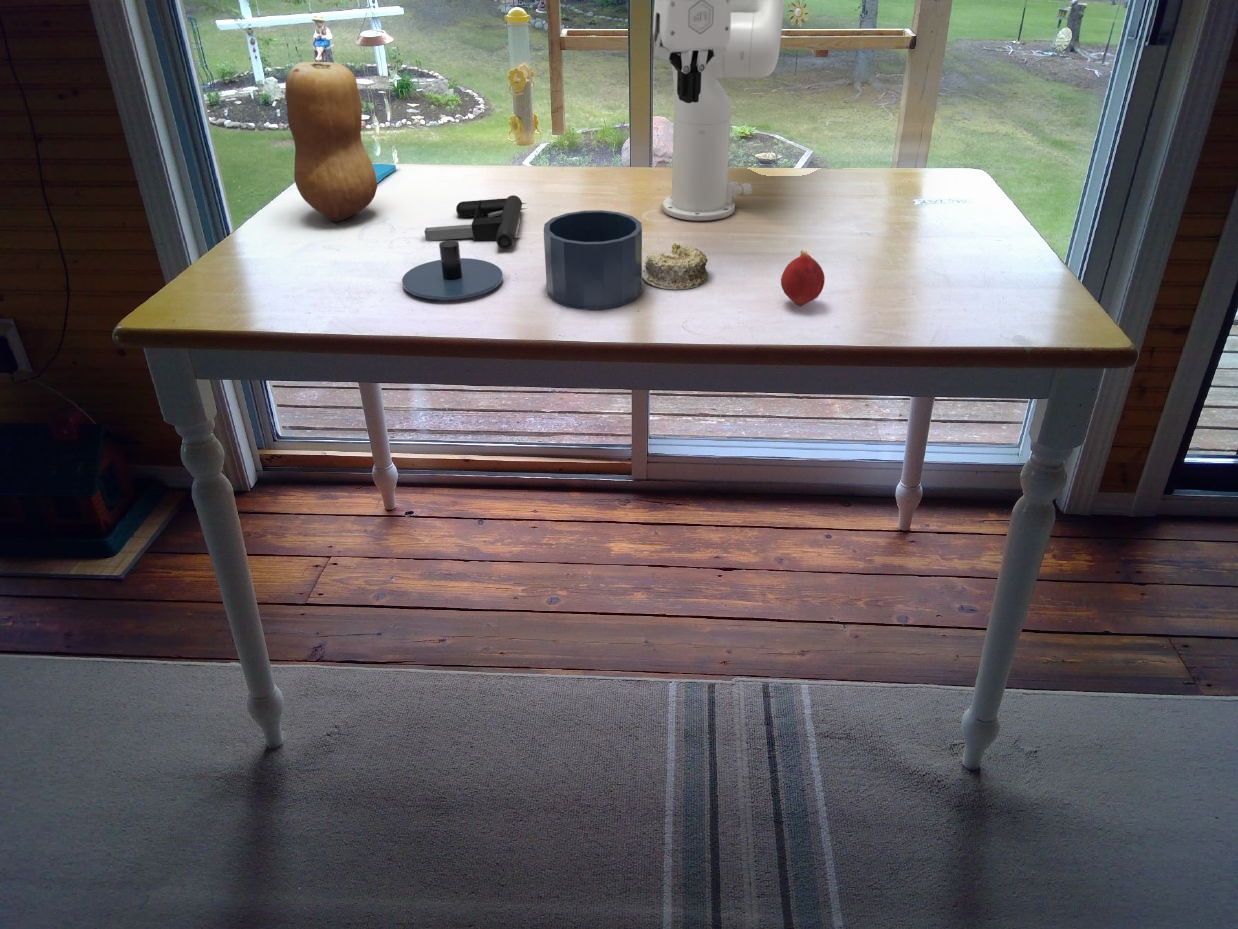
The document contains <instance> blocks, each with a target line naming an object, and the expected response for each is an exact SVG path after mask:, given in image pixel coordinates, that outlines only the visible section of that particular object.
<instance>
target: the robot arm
mask: <svg viewBox="0 0 1238 929" xmlns="http://www.w3.org/2000/svg"><path fill="white" fill-rule="evenodd" d="M784 9H785V0H654V7H653V19H652V20H653V23H652V36H653V37H652V38H653V44H654V50H653V57H654V58H655V59H657V60H661V61H664V62H669V63H670V64H671V69H672V79H673V120H672V122H673V123H672V127H673V129H672V131H673V132H672V164H671V165H672V167H671V168H672V169H671V195H670V196H668V197H667V198H665V199H664V200H663V201H662V211H663V212H664V213H665V214H666V215H667V216H670V217H673V218H676V219H679V220H683V221H694V222H705V221H707V222H708V221H716V220H720V219H724V218H727V217H729V216H731V215H732V214H734V212H735V210H736V209H735V208H736V204H735V201H734V200H733V199H735V198H736V197H737V196H747V195H751V194H752V191H753V188H752V185H751V183H750V182H746V183H741V184H740V183H739V184H738V182H737V181H731V182H729V181H728V176H729V175H728V174H729V173H728V172H729V158H730V157H729V156H730V137H731V120H732V105H731V101H730V99H729V98H730V97H729V96H728V94H727V92H726V91H725V89H724V88H723V86H722V85H721V84H720V82H719V81H718V79H724V78H734V79H735V78H736V79H761V78H766V77H769V76H770V75H771V74H772V73H773V72H774V71H775V69H776V67H777V64H778V62H779V56H780V52H781V51H780V50H781V43H782V42H781V41H782V32H783V31H782V30H783V20H784V11H785V10H784Z"/></svg>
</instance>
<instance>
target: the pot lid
mask: <svg viewBox="0 0 1238 929" xmlns="http://www.w3.org/2000/svg"><path fill="white" fill-rule="evenodd" d="M438 247H439V256H440V259H437V260H432V261H429V262H428V261H427V262H424V263H421V264H419V265H416V266H414V267H413V268H411V269H410V270H408V271H406V272H405V273H404V275H403V276H402V279H401V282H402V287H403V289H404V290H405V291H406V292H408V293H409V294H410V295H413V296H415V297H419V298H422V299H429V300H438V301H439V300H440V301H449V300H450V301H451V300H462V299H467V298H473V297H477V296H480V295H483V294H486V293H489V292H490V291H492V290H494V289H496V288H497V287H498V286H499V285H500V284H501V283H502V281H503V277H504V275H503V270H502V269H501V268H500V267H499V266H498V265H497V264H495V263H492V262H490V261H487V260H483V259H477V258H468V257H467V258H465V257H461V251H460V243H459V241H457V240H454V239H447V240H442V241H441V242H439V243H438Z"/></svg>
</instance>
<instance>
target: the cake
mask: <svg viewBox="0 0 1238 929" xmlns="http://www.w3.org/2000/svg"><path fill="white" fill-rule="evenodd" d="M645 260H646V261H644V264H645V265H643V267H644V268H642V280H644V282H646V283H647V284H649V285H651V286H653V287H657V288H659V289H660V288H661V289H665V290H666V289H668V290H675V291H677V290H688V289H694V288H697V287H699V286H702V285H703V284H705V282H706V281H707V280H708V279H709V274H708V271H707V268H706V266H707V264H708V261H709V259H708V258H707V255H706V254H705V253H703V251H702V250H701V249H698V248H697V247H692V246H689V245H687V244H681V243H676V242H674V243H673V244H672V245H671V250H670V251H667V253H665V254H664V253H660V252H659V253H658V252H654V253H649V254H648V255H646V258H645Z"/></svg>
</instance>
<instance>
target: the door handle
mask: <svg viewBox="0 0 1238 929" xmlns="http://www.w3.org/2000/svg"><path fill="white" fill-rule="evenodd" d="M526 204H527V202H522V200H521V197H519V196H517V195H514V194H513V195H509V196H507V197H506V198H494V199H493V198H492V199H478V200H467V201H465V200H464V201H459V203H458V204H457V205H456V208H455V212H456V214H457V215H458V216H459V217H461V218H464V217H465V218H466V217H473V219H472V223H471V224H458V225H457V224H456V225H445V226H444V225H443V226H432V227H429V226H428V227H425V229H424V236H425V241H426V242H430V241H431V242H432V241H446V240H456V239H457V240H458V239H472V238H473V242H475V243H476V242H487V241H488V242H489V241H496V242H495V243H496V245H497V246H498V248H500V249H502V250H509V249H510V248H512V246H514V244H515V240H518V239H520V237H518V233H519V228H520V223H521V218H520V217H521V212H522V210H527V208H525V207H524V208H523V205H526ZM483 216H486V217H485V218H482V217H483Z"/></svg>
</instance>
